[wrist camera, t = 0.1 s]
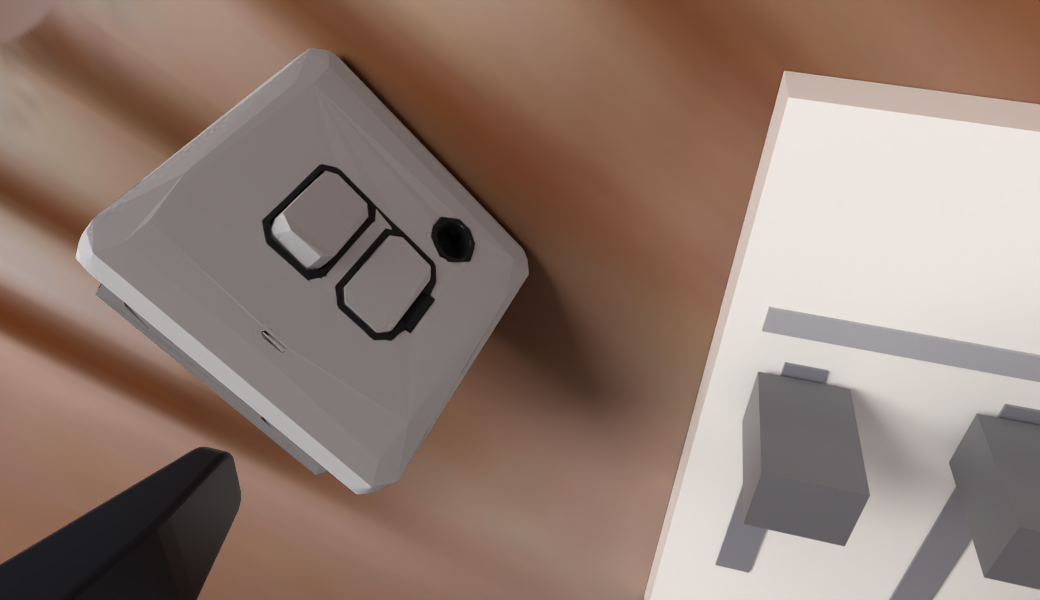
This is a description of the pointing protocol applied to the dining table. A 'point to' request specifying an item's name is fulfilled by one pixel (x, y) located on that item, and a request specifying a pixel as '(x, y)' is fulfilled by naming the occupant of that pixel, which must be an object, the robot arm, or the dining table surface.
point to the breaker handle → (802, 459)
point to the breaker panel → (869, 336)
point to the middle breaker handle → (1002, 496)
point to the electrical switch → (312, 270)
